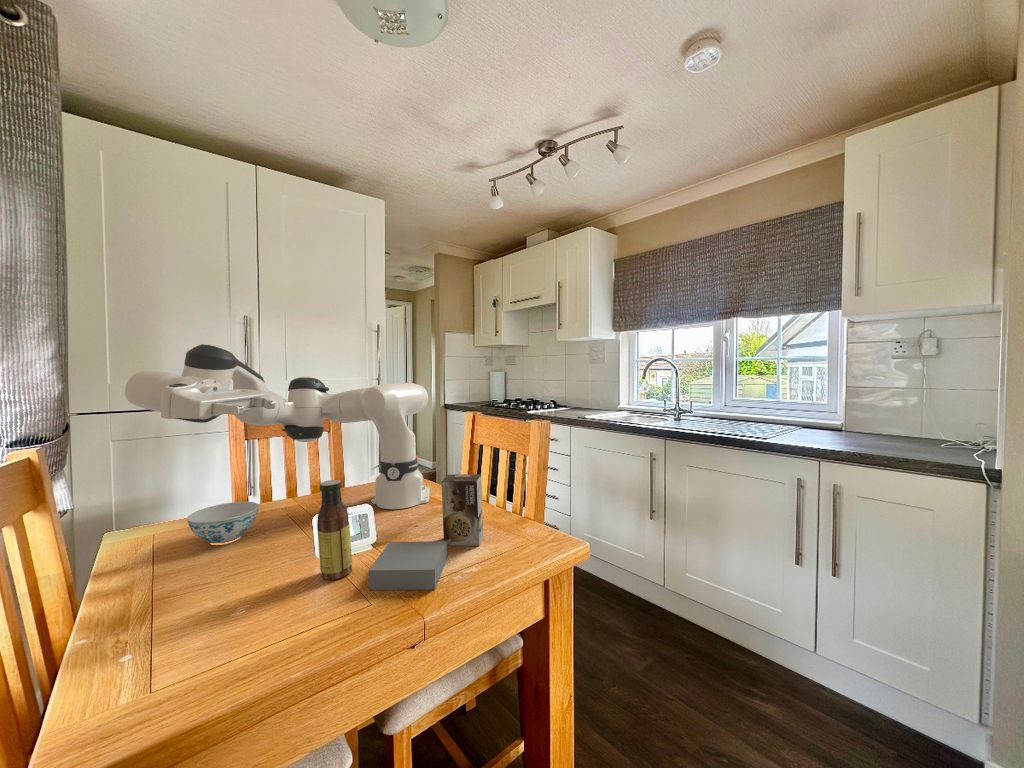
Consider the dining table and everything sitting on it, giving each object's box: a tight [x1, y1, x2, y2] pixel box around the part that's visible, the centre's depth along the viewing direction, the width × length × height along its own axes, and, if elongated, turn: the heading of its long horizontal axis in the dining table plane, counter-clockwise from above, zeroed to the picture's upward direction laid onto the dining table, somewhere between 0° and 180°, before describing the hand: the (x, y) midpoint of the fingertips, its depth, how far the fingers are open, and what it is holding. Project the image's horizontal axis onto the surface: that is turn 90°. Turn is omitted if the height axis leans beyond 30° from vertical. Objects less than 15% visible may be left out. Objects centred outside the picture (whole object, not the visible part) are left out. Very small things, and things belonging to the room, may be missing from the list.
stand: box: [368, 540, 448, 591], centre depth 85 cm, size 13×13×4 cm
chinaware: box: [186, 501, 259, 543], centre depth 104 cm, size 15×15×8 cm
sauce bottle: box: [316, 479, 353, 581], centre depth 85 cm, size 6×6×20 cm
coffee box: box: [440, 473, 484, 547], centre depth 101 cm, size 9×6×16 cm
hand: (258, 407), depth 86 cm, fingers open, 8 cm apart
